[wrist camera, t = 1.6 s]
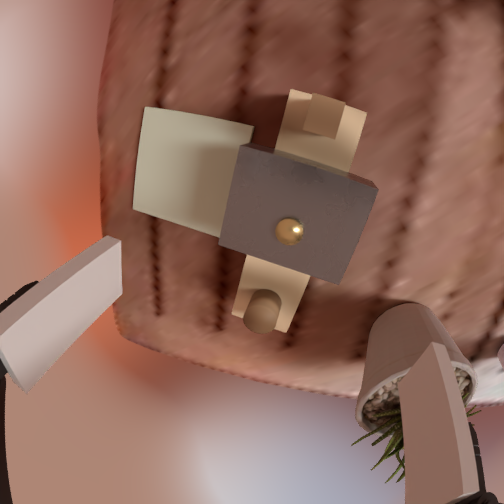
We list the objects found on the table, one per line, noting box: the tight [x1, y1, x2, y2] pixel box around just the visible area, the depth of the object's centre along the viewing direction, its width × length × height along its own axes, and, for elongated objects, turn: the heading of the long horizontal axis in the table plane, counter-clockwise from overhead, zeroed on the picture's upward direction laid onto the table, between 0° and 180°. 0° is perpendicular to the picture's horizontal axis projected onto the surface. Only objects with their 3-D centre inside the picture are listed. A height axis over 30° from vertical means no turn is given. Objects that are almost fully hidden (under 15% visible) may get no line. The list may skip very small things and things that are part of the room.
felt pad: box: [133, 107, 255, 238], centre depth 28 cm, size 12×12×1 cm
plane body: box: [232, 89, 367, 334], centre depth 24 cm, size 22×6×10 cm, turn 167°
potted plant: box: [352, 303, 481, 483], centre depth 22 cm, size 13×14×20 cm
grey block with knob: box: [218, 142, 378, 285], centre depth 22 cm, size 8×10×3 cm
